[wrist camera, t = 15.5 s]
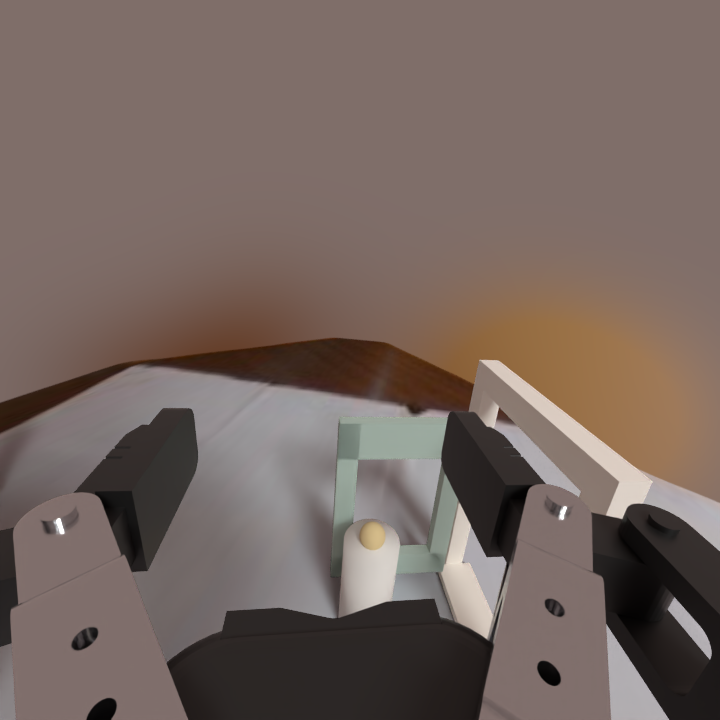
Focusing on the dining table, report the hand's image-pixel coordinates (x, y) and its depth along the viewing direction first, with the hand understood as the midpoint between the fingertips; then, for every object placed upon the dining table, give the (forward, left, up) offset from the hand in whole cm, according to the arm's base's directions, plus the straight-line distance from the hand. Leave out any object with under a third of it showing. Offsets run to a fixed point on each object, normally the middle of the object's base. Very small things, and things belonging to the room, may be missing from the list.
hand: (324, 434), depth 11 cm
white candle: (+5, +15, -32) cm, 36 cm away
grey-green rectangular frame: (+9, +20, -31) cm, 38 cm away
